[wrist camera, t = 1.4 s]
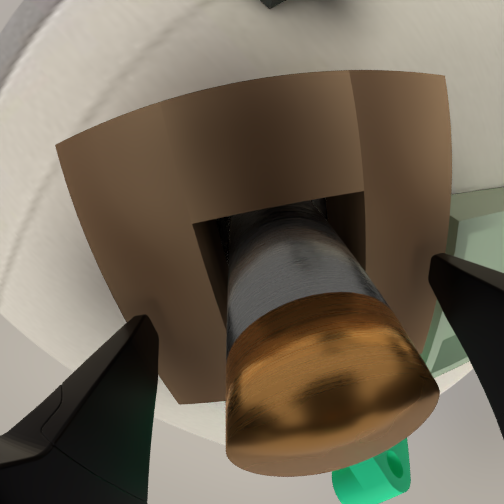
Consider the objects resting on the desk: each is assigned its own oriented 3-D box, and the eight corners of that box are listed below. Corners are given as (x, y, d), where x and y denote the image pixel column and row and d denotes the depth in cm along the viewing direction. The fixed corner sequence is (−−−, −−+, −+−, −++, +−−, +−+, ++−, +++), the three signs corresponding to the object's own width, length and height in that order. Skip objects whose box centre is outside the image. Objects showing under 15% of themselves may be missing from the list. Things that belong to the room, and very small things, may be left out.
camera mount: (232, 397, 19) (236, 527, 10) (310, 341, 17) (352, 500, 8) (328, 430, 23) (349, 519, 14) (393, 390, 21) (431, 485, 12)
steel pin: (311, 175, 12) (468, 340, 3) (320, 255, 14) (410, 445, 5) (220, 193, 12) (190, 411, 3) (240, 271, 14) (251, 484, 5)
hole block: (382, 81, 10) (444, 75, 6) (387, 300, 15) (422, 353, 11) (112, 131, 10) (55, 145, 6) (188, 341, 16) (179, 404, 12)
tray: (533, 182, 12) (560, 197, 9) (503, 310, 18) (521, 330, 15) (423, 199, 13) (459, 221, 10) (401, 355, 18) (417, 384, 15)
